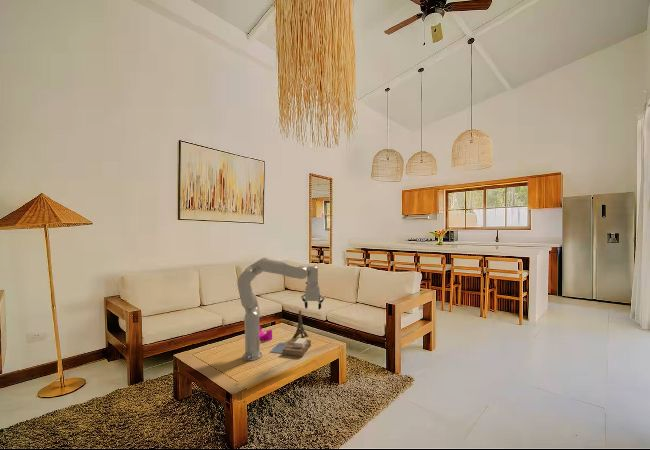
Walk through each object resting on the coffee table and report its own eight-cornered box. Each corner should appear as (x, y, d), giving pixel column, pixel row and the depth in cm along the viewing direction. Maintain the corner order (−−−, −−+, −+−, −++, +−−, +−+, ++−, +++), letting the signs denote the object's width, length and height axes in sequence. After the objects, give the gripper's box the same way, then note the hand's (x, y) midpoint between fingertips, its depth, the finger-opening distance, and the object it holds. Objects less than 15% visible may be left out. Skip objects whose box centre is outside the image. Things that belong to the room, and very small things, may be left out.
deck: (302, 357, 204) (301, 351, 204) (282, 355, 207) (282, 349, 207) (311, 345, 223) (310, 340, 223) (293, 343, 227) (293, 338, 227)
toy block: (252, 338, 239) (252, 328, 239) (258, 335, 244) (258, 326, 244) (266, 342, 230) (266, 332, 230) (272, 339, 235) (272, 330, 235)
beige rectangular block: (302, 347, 209) (302, 343, 209) (294, 347, 211) (294, 342, 211) (306, 342, 218) (306, 338, 218) (298, 342, 220) (298, 337, 220)
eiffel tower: (296, 334, 246) (296, 303, 245) (308, 335, 243) (308, 304, 242) (291, 339, 235) (291, 307, 235) (304, 340, 232) (303, 308, 232)
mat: (283, 353, 209) (283, 353, 209) (269, 352, 212) (269, 351, 212) (291, 344, 225) (291, 344, 225) (279, 343, 227) (279, 342, 227)
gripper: (299, 284, 210) (299, 309, 210) (323, 285, 206) (323, 311, 206) (302, 282, 217) (302, 306, 218) (326, 283, 213) (326, 307, 213)
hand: (312, 308), depth 212 cm, fingers open, 9 cm apart
